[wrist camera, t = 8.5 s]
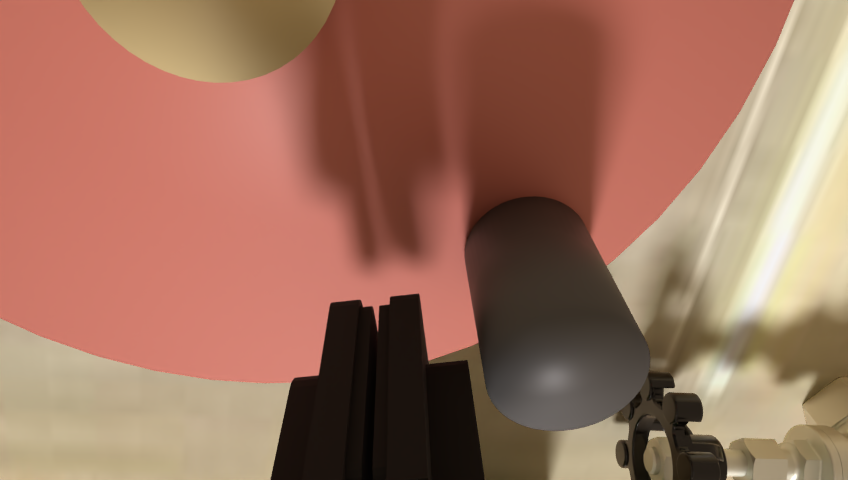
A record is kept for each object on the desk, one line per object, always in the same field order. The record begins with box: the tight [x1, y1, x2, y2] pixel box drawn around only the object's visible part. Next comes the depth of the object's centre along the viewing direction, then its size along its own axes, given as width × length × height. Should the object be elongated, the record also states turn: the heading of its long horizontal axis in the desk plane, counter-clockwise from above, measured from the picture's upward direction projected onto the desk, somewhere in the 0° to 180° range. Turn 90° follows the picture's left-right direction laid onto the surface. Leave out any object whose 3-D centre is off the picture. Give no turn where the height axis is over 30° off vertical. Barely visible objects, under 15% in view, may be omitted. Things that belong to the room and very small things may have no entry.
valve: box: [616, 372, 848, 480], centre depth 24 cm, size 7×7×12 cm
